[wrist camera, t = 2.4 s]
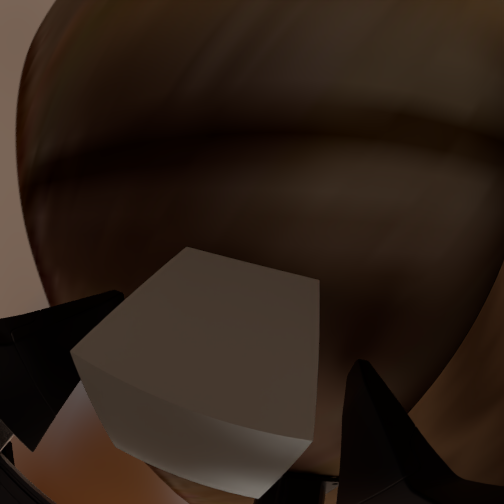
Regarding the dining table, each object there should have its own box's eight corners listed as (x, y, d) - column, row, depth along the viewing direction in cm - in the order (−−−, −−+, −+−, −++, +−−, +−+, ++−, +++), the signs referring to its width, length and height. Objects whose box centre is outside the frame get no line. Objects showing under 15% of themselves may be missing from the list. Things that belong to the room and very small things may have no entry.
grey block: (286, 372, 11) (258, 498, 5) (182, 343, 12) (115, 446, 6) (319, 279, 9) (312, 440, 4) (186, 246, 10) (69, 351, 4)
